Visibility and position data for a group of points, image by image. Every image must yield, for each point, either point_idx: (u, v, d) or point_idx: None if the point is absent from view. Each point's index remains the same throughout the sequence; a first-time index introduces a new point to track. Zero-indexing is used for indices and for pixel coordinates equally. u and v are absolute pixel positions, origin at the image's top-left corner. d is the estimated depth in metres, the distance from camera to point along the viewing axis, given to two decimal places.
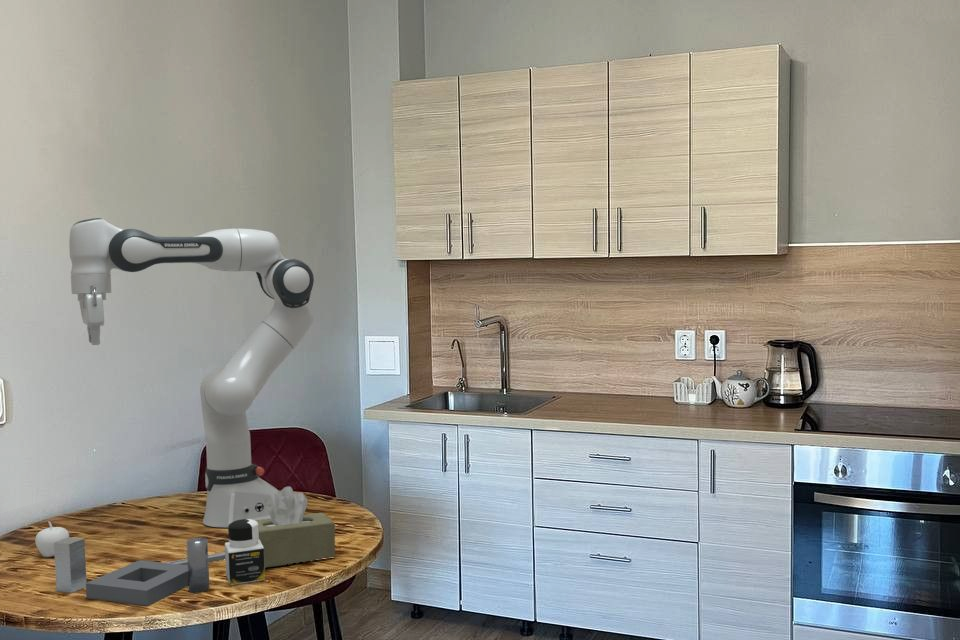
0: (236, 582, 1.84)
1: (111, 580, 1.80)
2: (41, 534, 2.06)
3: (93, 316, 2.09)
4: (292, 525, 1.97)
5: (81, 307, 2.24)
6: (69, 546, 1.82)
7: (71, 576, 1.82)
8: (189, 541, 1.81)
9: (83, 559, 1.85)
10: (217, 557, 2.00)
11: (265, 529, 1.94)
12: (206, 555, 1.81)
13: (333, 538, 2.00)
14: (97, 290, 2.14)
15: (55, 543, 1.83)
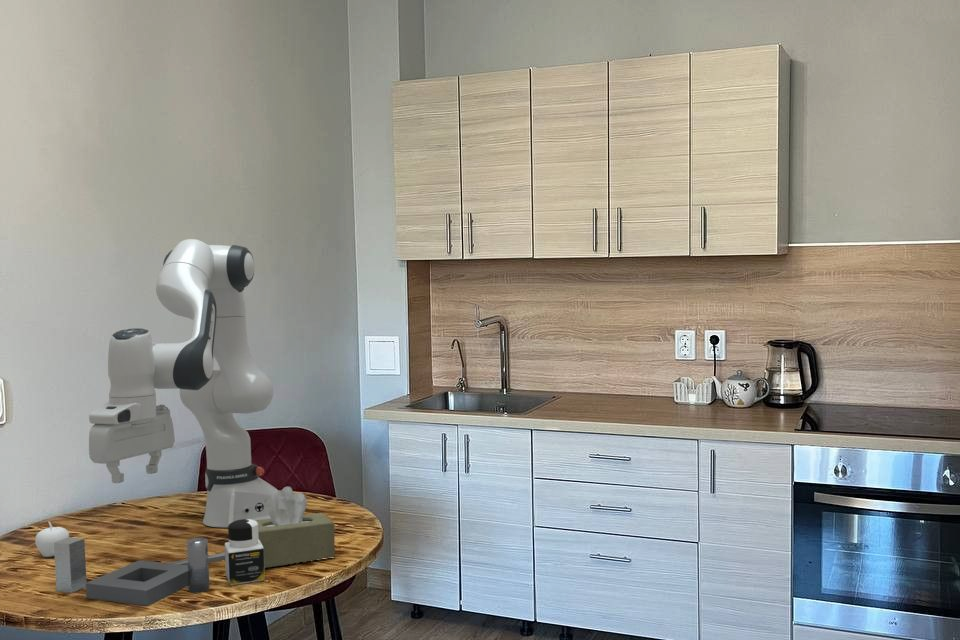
0: (236, 582, 1.84)
1: (111, 580, 1.80)
2: (41, 534, 2.06)
3: None
4: (292, 525, 1.97)
5: (110, 442, 1.74)
6: (69, 545, 1.82)
7: (71, 576, 1.82)
8: (189, 541, 1.81)
9: (83, 559, 1.85)
10: (215, 558, 2.00)
11: (264, 529, 1.94)
12: (206, 555, 1.81)
13: (332, 538, 2.00)
14: None
15: (55, 543, 1.83)
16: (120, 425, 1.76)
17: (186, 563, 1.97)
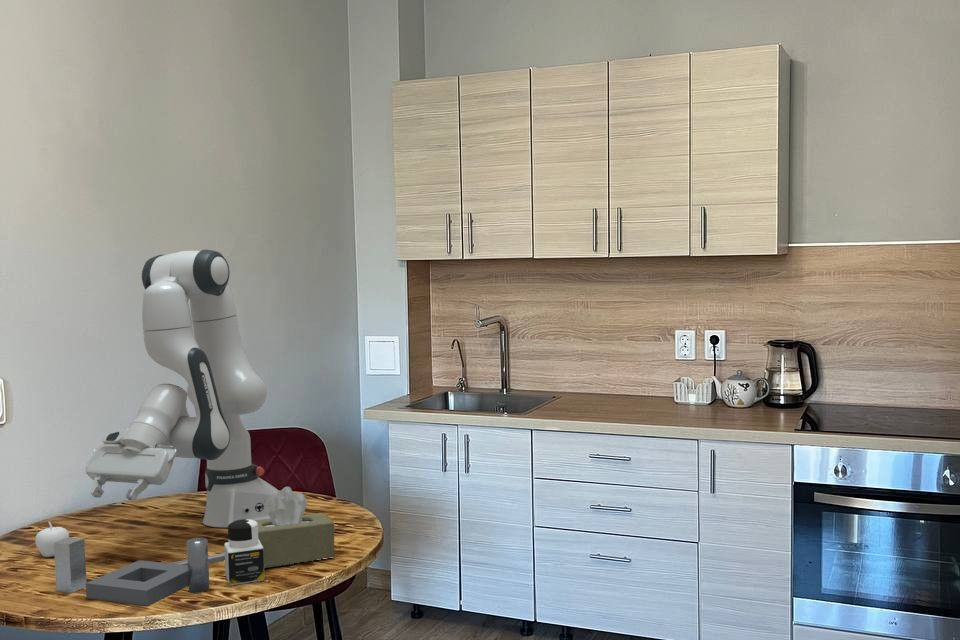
0: (236, 582, 1.84)
1: (111, 580, 1.80)
2: (41, 534, 2.06)
3: (163, 471, 1.96)
4: (291, 525, 1.97)
5: (96, 456, 2.02)
6: (69, 546, 1.82)
7: (71, 576, 1.82)
8: (189, 541, 1.81)
9: (83, 559, 1.85)
10: (214, 559, 1.99)
11: (264, 529, 1.94)
12: (206, 555, 1.81)
13: (332, 538, 2.00)
14: None
15: (55, 543, 1.83)
16: (108, 444, 2.03)
17: (184, 564, 1.96)
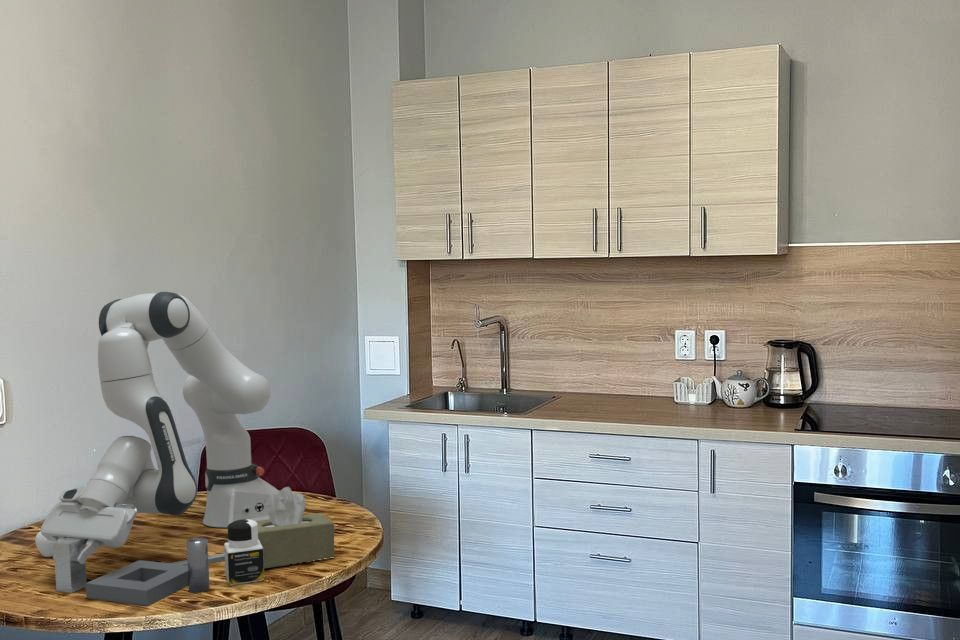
0: (235, 582, 1.84)
1: (111, 580, 1.80)
2: (41, 534, 2.06)
3: (121, 533, 1.84)
4: (291, 526, 1.97)
5: (52, 515, 1.91)
6: (69, 545, 1.82)
7: (71, 576, 1.82)
8: (189, 541, 1.81)
9: None
10: (211, 559, 1.99)
11: (264, 530, 1.93)
12: (206, 555, 1.81)
13: (332, 538, 1.99)
14: None
15: (55, 543, 1.83)
16: (65, 502, 1.92)
17: None
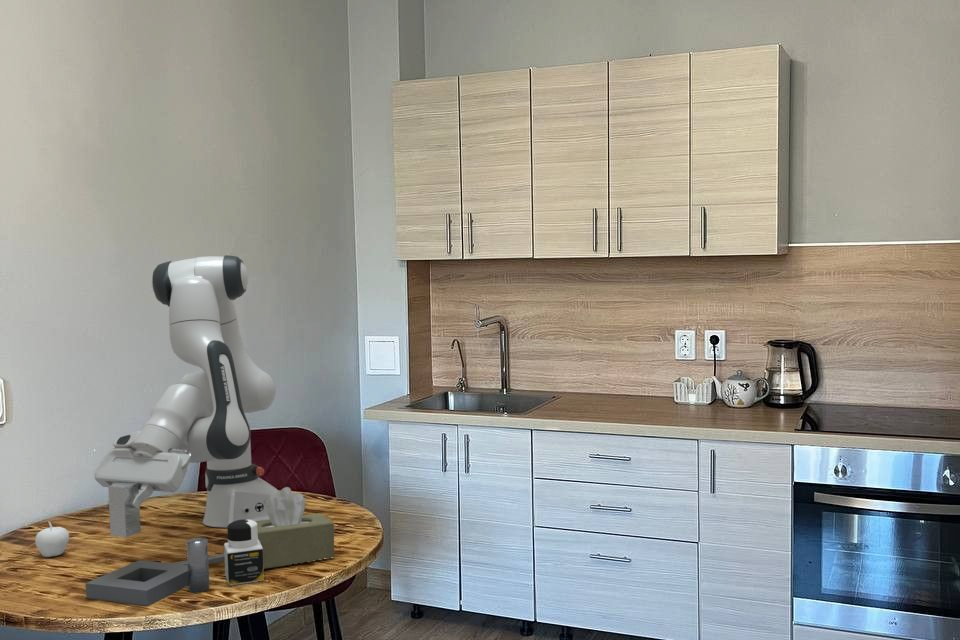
0: (235, 582, 1.84)
1: (111, 580, 1.80)
2: (41, 534, 2.06)
3: (176, 478, 1.82)
4: (291, 526, 1.97)
5: (106, 461, 1.89)
6: (124, 489, 1.80)
7: (125, 520, 1.80)
8: (189, 541, 1.81)
9: None
10: (210, 560, 1.98)
11: (264, 530, 1.93)
12: (206, 555, 1.81)
13: (332, 538, 1.99)
14: None
15: (109, 487, 1.81)
16: (119, 448, 1.90)
17: None
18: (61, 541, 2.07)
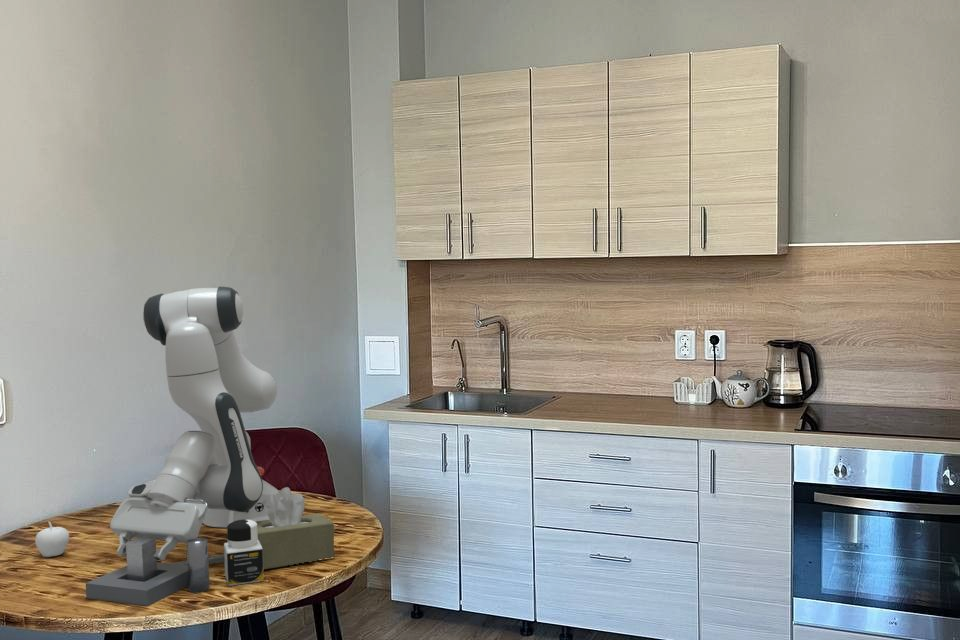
0: (234, 583, 1.84)
1: (111, 580, 1.80)
2: (41, 534, 2.06)
3: (193, 528, 1.83)
4: (291, 526, 1.96)
5: (121, 511, 1.89)
6: (142, 546, 1.80)
7: (143, 576, 1.81)
8: (189, 541, 1.81)
9: (155, 559, 1.84)
10: None
11: (264, 531, 1.93)
12: (206, 555, 1.81)
13: (332, 538, 1.99)
14: None
15: (127, 543, 1.82)
16: (134, 497, 1.90)
17: None
18: (61, 541, 2.07)
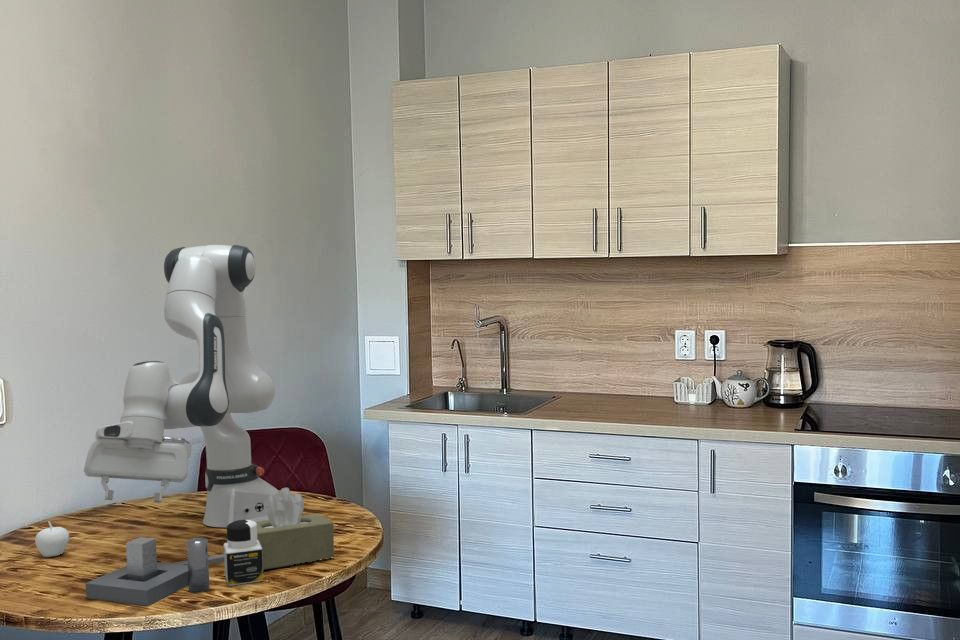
0: (234, 583, 1.84)
1: (111, 580, 1.80)
2: (41, 534, 2.06)
3: None
4: (291, 526, 1.96)
5: (95, 454, 1.84)
6: (142, 546, 1.80)
7: (143, 576, 1.81)
8: (189, 541, 1.81)
9: (155, 559, 1.84)
10: None
11: (264, 531, 1.93)
12: (206, 555, 1.81)
13: (332, 538, 1.99)
14: None
15: (127, 543, 1.82)
16: (108, 439, 1.85)
17: None
18: (61, 541, 2.07)
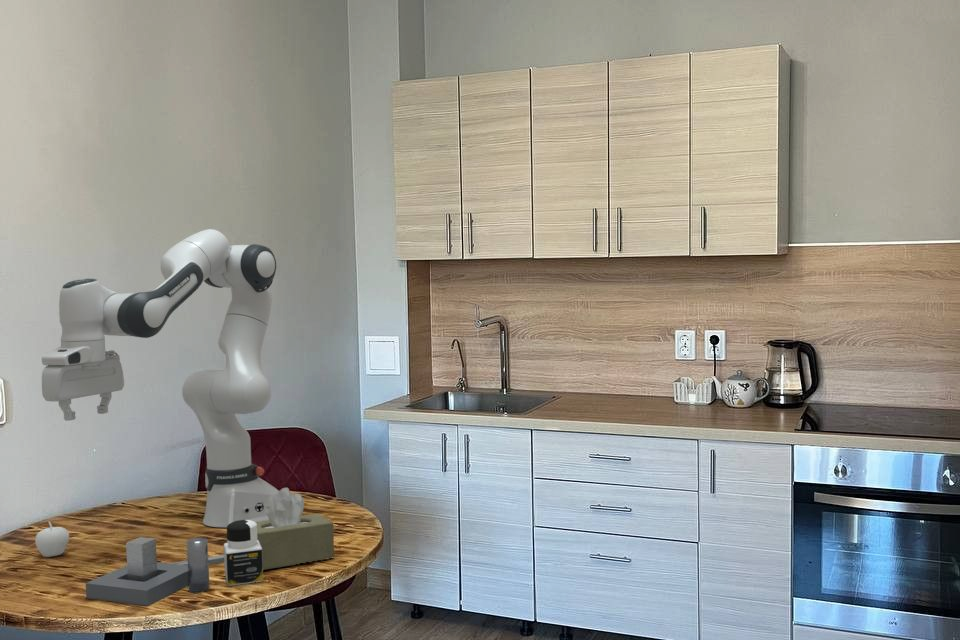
0: (234, 583, 1.84)
1: (111, 580, 1.80)
2: (41, 534, 2.06)
3: None
4: (291, 526, 1.96)
5: (61, 381, 1.89)
6: (142, 546, 1.80)
7: (143, 576, 1.81)
8: (189, 541, 1.81)
9: (155, 559, 1.84)
10: None
11: (264, 531, 1.92)
12: (206, 555, 1.81)
13: (332, 538, 1.99)
14: None
15: (127, 543, 1.82)
16: (71, 366, 1.90)
17: None
18: (61, 541, 2.07)
